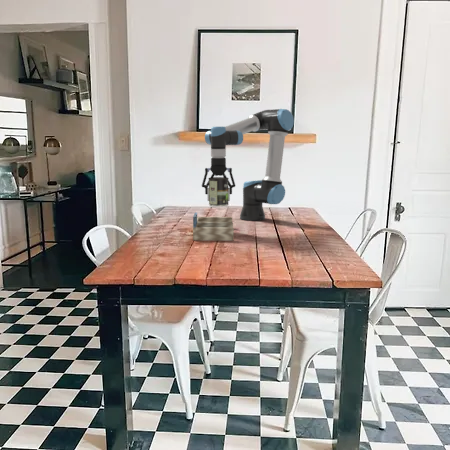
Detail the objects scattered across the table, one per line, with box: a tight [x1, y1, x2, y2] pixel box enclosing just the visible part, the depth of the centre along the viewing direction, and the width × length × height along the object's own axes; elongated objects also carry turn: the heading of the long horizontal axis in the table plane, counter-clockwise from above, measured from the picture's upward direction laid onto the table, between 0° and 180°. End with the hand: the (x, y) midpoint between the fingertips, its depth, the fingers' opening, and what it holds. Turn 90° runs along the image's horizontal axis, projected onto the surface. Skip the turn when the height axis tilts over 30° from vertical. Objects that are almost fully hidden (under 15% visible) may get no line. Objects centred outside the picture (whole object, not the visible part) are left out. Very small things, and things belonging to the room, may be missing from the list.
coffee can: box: [207, 176, 229, 207], centre depth 242 cm, size 10×10×14 cm
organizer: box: [192, 212, 235, 242], centre depth 237 cm, size 19×32×11 cm, turn 0°
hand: (218, 200), depth 243 cm, fingers closed on coffee can, 10 cm apart
